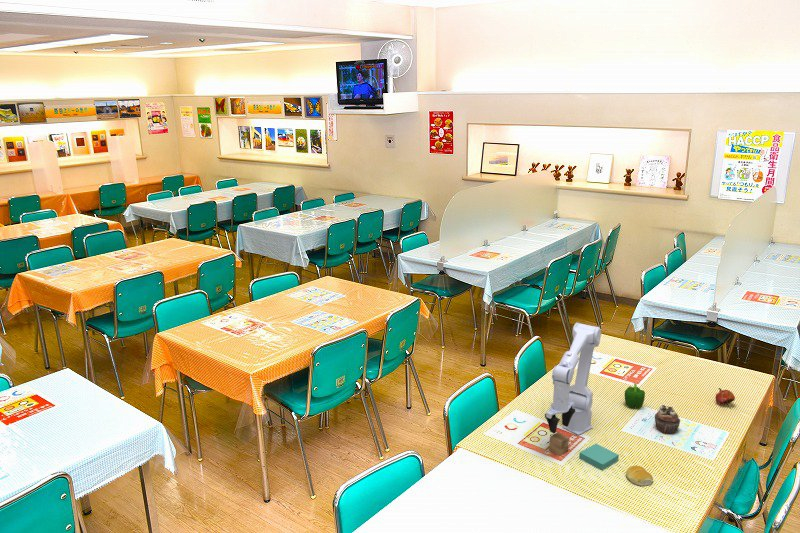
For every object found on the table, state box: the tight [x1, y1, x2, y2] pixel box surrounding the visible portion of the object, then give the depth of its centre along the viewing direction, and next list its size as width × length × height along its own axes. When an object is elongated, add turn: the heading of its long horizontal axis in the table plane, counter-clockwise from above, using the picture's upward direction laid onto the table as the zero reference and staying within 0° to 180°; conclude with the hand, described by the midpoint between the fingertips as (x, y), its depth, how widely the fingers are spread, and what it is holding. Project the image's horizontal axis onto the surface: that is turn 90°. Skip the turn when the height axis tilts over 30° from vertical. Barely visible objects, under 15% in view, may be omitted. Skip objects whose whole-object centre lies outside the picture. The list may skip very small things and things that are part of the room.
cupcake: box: [654, 404, 681, 435], centre depth 248 cm, size 10×10×10 cm
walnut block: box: [548, 431, 570, 457], centre depth 234 cm, size 5×5×6 cm
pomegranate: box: [714, 387, 736, 410], centre depth 268 cm, size 7×7×10 cm
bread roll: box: [625, 465, 654, 487], centre depth 217 cm, size 8×9×4 cm
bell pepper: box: [624, 382, 646, 409], centre depth 267 cm, size 8×8×10 cm
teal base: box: [578, 443, 620, 471], centre depth 229 cm, size 10×10×3 cm
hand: (559, 428), depth 232 cm, fingers open, 7 cm apart
